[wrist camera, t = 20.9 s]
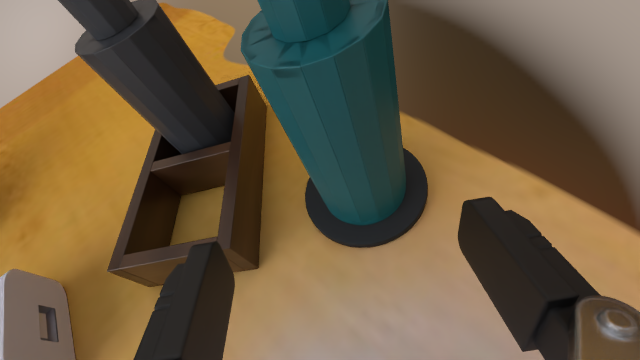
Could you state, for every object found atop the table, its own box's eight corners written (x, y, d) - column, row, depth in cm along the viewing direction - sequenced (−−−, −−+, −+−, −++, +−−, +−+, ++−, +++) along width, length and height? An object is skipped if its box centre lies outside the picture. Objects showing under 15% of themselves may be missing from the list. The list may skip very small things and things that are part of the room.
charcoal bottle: (184, 172, 30) (-25, -16, 16) (211, 125, 33) (53, -68, 19) (234, 176, 28) (41, -38, 14) (258, 126, 31) (118, -92, 17)
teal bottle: (314, 219, 22) (127, -65, 8) (335, 153, 25) (221, -139, 11) (399, 231, 20) (335, -131, 6) (410, 157, 23) (385, -203, 9)
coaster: (292, 237, 23) (289, 234, 22) (324, 142, 27) (322, 137, 26) (420, 258, 19) (420, 255, 19) (433, 146, 24) (433, 141, 23)
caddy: (149, 287, 24) (106, 271, 21) (189, 127, 34) (164, 100, 31) (258, 268, 22) (229, 248, 19) (266, 105, 32) (249, 74, 29)
